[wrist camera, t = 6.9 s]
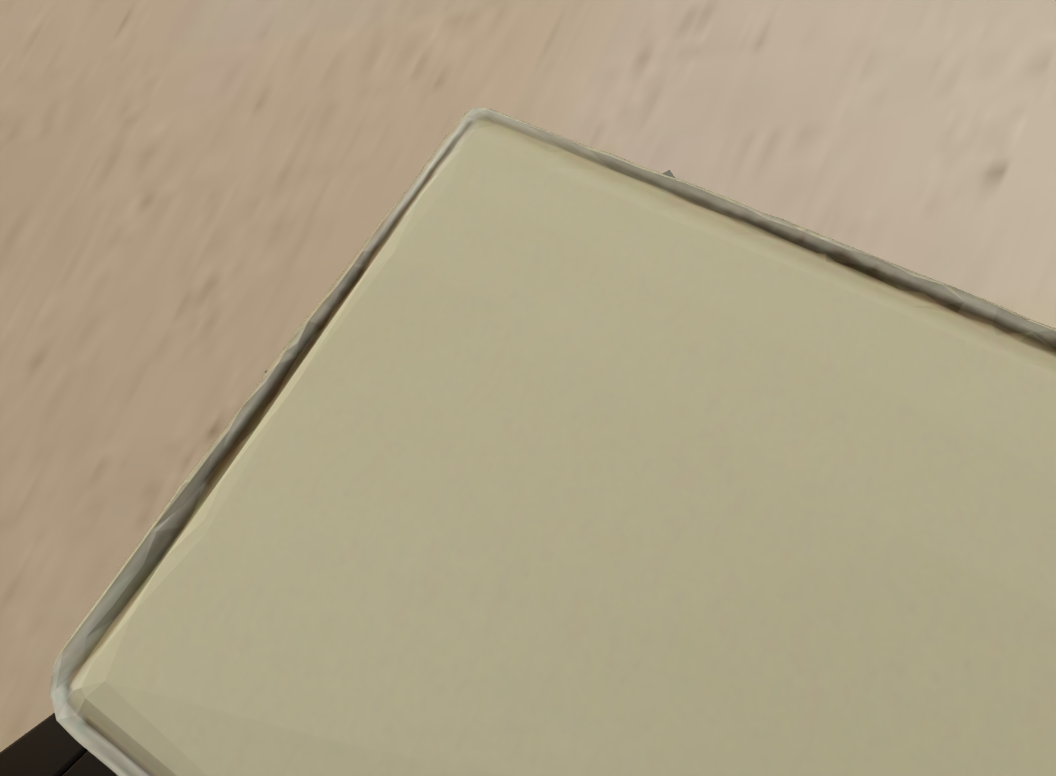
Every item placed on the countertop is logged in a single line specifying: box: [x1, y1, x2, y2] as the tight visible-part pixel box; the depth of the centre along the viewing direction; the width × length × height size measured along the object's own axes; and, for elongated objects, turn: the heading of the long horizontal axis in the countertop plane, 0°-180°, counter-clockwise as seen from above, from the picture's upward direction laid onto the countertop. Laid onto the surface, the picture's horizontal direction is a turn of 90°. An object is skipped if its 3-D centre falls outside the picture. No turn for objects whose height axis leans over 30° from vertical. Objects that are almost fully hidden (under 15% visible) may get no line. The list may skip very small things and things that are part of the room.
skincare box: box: [50, 108, 1056, 776], centre depth 9 cm, size 6×4×12 cm
